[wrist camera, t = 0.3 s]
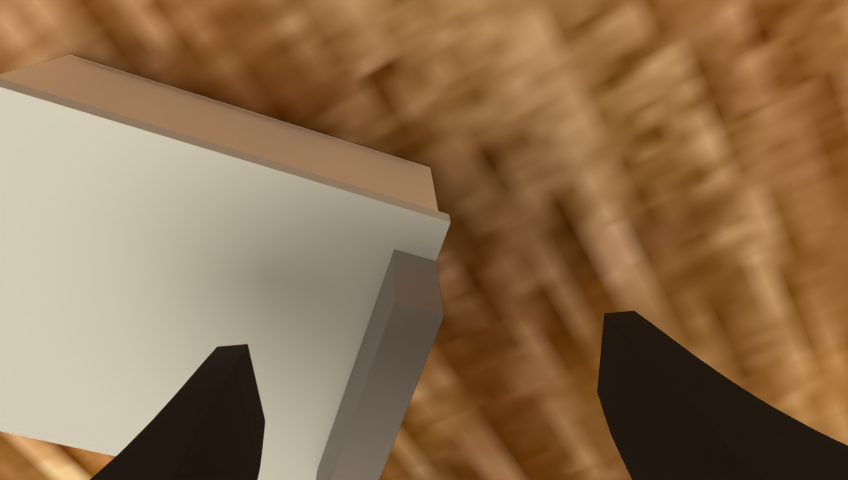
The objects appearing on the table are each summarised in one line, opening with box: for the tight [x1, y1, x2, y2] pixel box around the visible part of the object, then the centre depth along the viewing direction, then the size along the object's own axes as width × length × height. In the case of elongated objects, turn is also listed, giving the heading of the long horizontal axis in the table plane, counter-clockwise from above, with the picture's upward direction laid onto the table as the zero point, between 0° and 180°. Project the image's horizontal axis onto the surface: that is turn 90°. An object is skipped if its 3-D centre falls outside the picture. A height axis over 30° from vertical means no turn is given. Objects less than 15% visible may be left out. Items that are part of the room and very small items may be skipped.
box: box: [0, 54, 438, 211], centre depth 21 cm, size 12×10×5 cm
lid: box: [0, 79, 451, 480], centre depth 17 cm, size 12×10×4 cm
